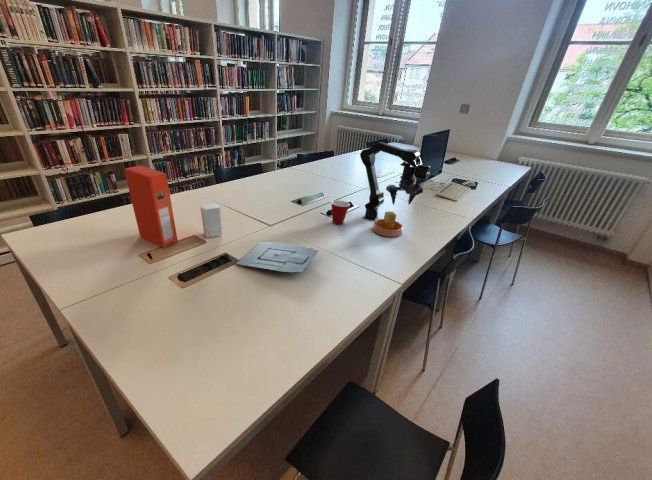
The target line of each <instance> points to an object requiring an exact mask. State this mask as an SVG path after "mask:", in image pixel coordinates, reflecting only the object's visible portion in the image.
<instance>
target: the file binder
mask: <svg viewBox="0 0 652 480" xmlns="http://www.w3.org/2000/svg"><path fill="white" fill-rule="evenodd" d="M123 171H124V175H125V180H126V184H127V187H128V192H129V195H130V199H131V204H132V209H133V213H134V216H135V217H134V218H135V220H136V225H137V229H138V233H139V237H140V238H142V239H144V240H147V241H148V242H151V243H153V244H155V245H156V246H159V247H160V248H162V249H164V248H167V247H170V246H172V245H174V244H176V243H178V242H179V240H178V234H177V229H176V224H175V223H176V222H175V217H174V212H173V206H172V200H171V193H170V187H169V182H168V176H167V173H165V172H162V171H160V170H156V169H154V168H151V167H147V166H145V165H135V166H131V167H126V168H123Z"/></svg>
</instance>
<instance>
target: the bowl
mask: <svg viewBox="0 0 652 480" xmlns="http://www.w3.org/2000/svg"><path fill="white" fill-rule="evenodd" d="M383 220H384V218H379V219H375V220H374V221H373V225H372V230H373V232H374V233H375V234H377V235H380V236H382V237H383V236H384V237H389V238H395V237H399V236H401V235H402V233H403V224H401V222H399V221H397V220H395V224H394V228H393V230H386V229H382V225H383Z"/></svg>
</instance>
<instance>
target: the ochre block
mask: <svg viewBox="0 0 652 480" xmlns="http://www.w3.org/2000/svg"><path fill="white" fill-rule="evenodd" d="M383 219H384V220H383V225H382V229H386V230H393V228H394V224H395V221H396V219H397V213H395V212H394V211H384V216H383Z"/></svg>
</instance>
